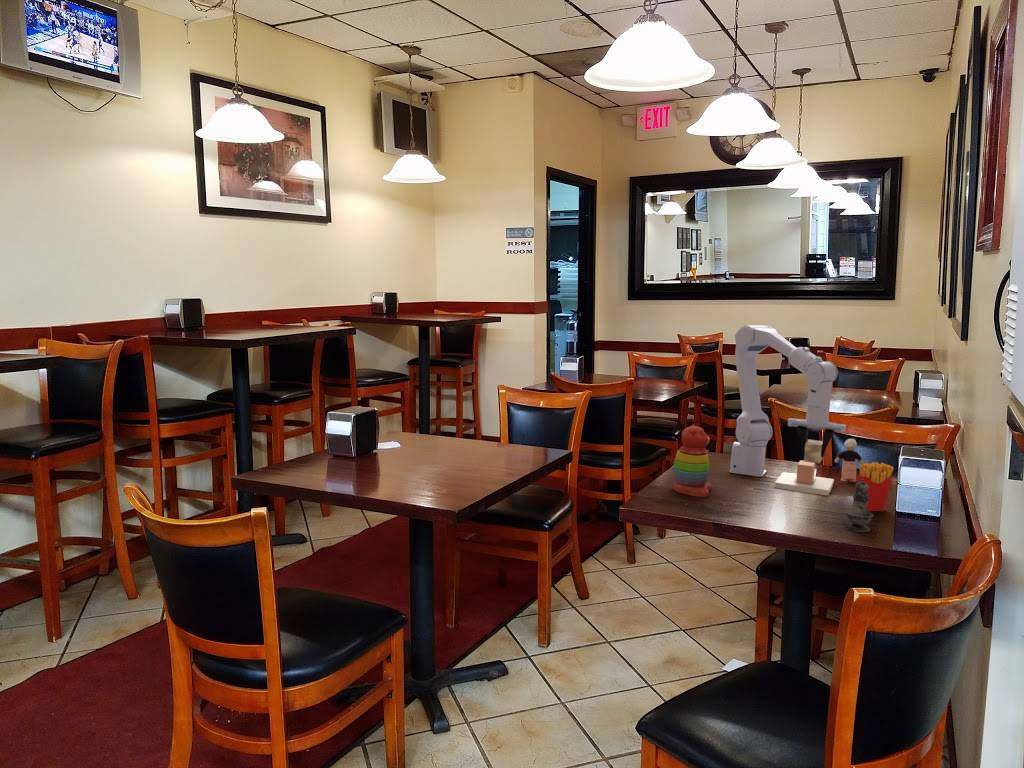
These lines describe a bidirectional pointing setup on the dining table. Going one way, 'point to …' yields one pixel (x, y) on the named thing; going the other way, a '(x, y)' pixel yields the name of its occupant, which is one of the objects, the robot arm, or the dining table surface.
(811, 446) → the birch brick
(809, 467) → the terracotta brick
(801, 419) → the robot arm
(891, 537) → the dining table surface
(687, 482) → the stacking bear
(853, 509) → the grey stone statuette
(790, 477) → the tower plate
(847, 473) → the grandmother figurine
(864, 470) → the french fries
